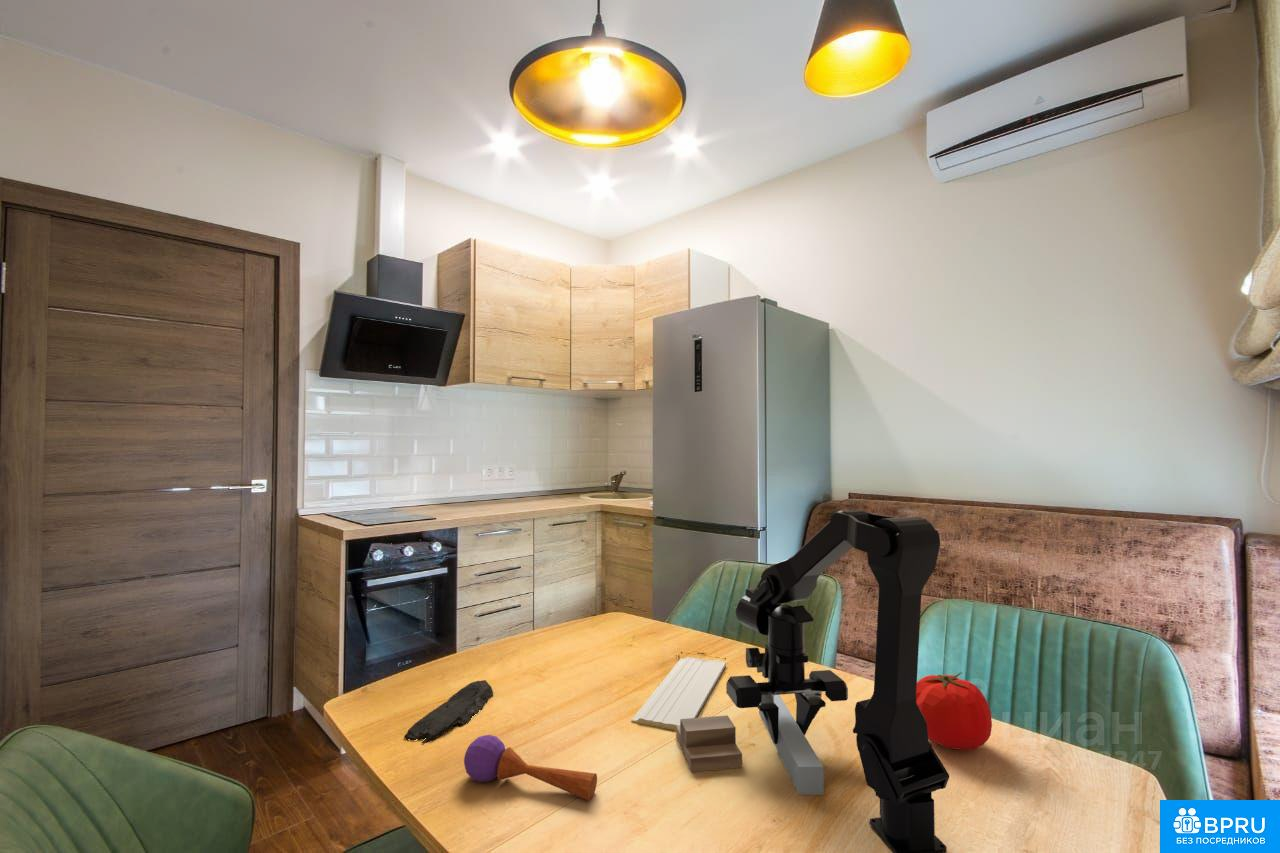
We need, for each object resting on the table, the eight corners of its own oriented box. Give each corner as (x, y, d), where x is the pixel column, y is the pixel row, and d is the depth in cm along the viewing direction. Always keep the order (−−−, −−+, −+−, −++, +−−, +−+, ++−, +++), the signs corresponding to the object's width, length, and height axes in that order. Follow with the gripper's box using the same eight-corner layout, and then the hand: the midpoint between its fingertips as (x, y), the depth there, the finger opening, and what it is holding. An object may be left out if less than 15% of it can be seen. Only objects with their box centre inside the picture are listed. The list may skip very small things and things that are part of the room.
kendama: (584, 784, 74) (455, 749, 80) (584, 823, 75) (456, 786, 81) (600, 753, 80) (478, 722, 85) (600, 789, 81) (479, 756, 86)
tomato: (994, 739, 93) (992, 671, 93) (991, 773, 83) (989, 697, 84) (915, 720, 100) (913, 656, 100) (904, 748, 90) (902, 678, 90)
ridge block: (742, 767, 85) (742, 737, 85) (691, 772, 83) (691, 741, 84) (722, 734, 95) (722, 707, 95) (676, 737, 93) (676, 710, 93)
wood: (438, 750, 90) (438, 731, 90) (400, 742, 92) (400, 724, 93) (508, 693, 111) (509, 677, 112) (476, 688, 114) (476, 673, 114)
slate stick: (823, 795, 78) (823, 766, 78) (798, 796, 78) (798, 766, 78) (778, 714, 102) (777, 692, 102) (759, 714, 102) (758, 692, 102)
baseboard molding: (623, 724, 99) (688, 736, 95) (623, 707, 99) (688, 719, 95) (674, 661, 128) (726, 669, 124) (674, 648, 128) (726, 655, 124)
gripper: (816, 625, 100) (817, 714, 100) (716, 630, 97) (716, 722, 97) (849, 647, 89) (850, 747, 89) (737, 654, 86) (738, 757, 86)
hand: (786, 741), depth 90 cm, fingers closed on slate stick, 4 cm apart
